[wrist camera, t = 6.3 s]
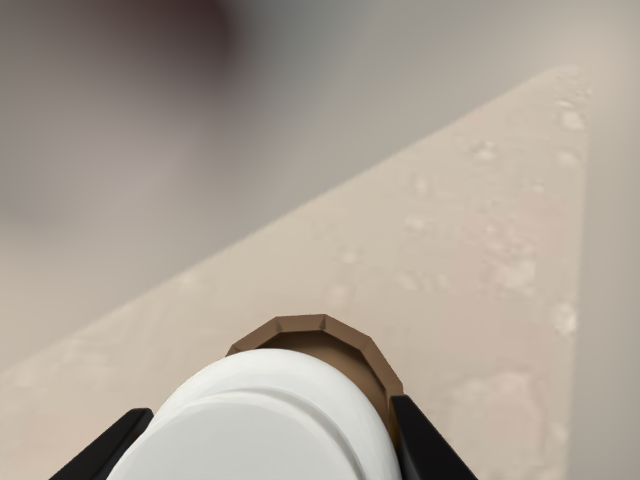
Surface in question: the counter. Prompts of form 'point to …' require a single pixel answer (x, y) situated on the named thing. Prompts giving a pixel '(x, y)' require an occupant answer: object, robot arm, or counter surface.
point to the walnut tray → (331, 353)
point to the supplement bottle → (263, 426)
